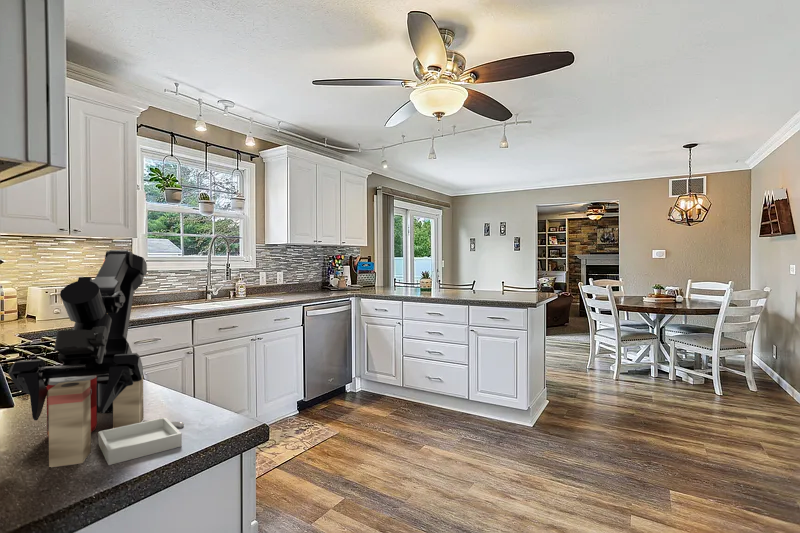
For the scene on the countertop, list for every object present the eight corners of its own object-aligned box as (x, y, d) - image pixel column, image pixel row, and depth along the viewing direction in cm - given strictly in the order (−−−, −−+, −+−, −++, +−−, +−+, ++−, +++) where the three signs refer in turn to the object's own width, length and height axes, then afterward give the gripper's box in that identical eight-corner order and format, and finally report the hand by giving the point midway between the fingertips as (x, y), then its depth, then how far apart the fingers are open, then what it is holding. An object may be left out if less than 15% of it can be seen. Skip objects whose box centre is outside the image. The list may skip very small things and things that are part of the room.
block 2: (118, 420, 91) (118, 377, 91) (143, 417, 93) (143, 375, 93) (113, 428, 87) (112, 382, 87) (139, 425, 88) (138, 380, 88)
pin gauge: (141, 427, 88) (141, 421, 88) (145, 425, 89) (145, 419, 89) (181, 429, 87) (181, 423, 87) (185, 427, 88) (185, 421, 88)
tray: (98, 444, 79) (98, 431, 79) (165, 428, 86) (165, 417, 86) (108, 465, 71) (108, 451, 71) (181, 446, 78) (181, 433, 78)
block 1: (59, 456, 74) (58, 382, 74) (91, 451, 76) (90, 379, 76) (48, 467, 70) (48, 389, 70) (82, 463, 72) (81, 386, 72)
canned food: (38, 443, 80) (37, 383, 80) (59, 427, 87) (59, 372, 87) (86, 438, 82) (86, 380, 82) (103, 423, 89) (103, 369, 89)
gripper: (13, 313, 74) (-23, 397, 64) (139, 309, 81) (126, 384, 70) (33, 351, 81) (4, 432, 71) (147, 344, 88) (136, 417, 78)
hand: (69, 415), depth 72 cm, fingers open, 9 cm apart
